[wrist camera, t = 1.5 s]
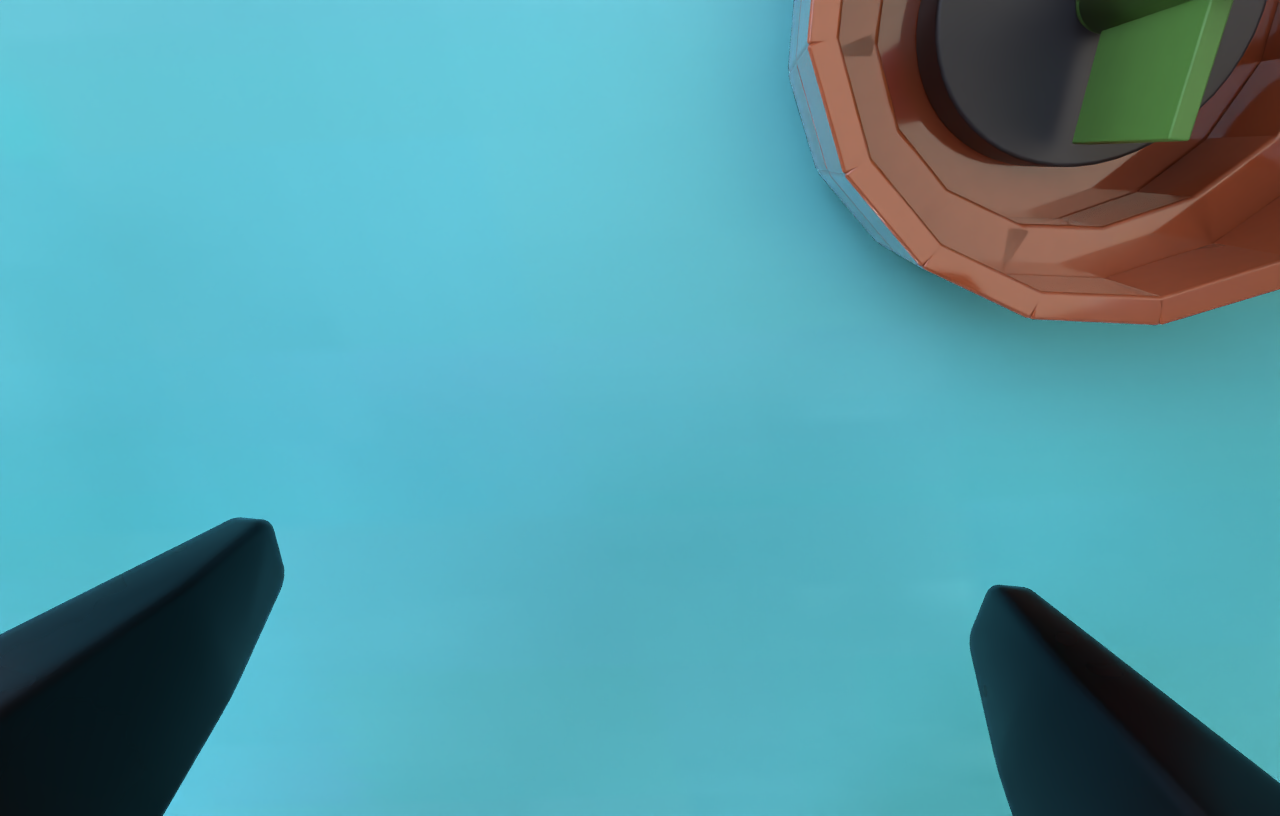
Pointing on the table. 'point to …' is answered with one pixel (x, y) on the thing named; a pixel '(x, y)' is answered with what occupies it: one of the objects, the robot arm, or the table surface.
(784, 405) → the table surface
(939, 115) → the tulip
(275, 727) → the table surface
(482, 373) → the table surface
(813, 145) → the bowl
